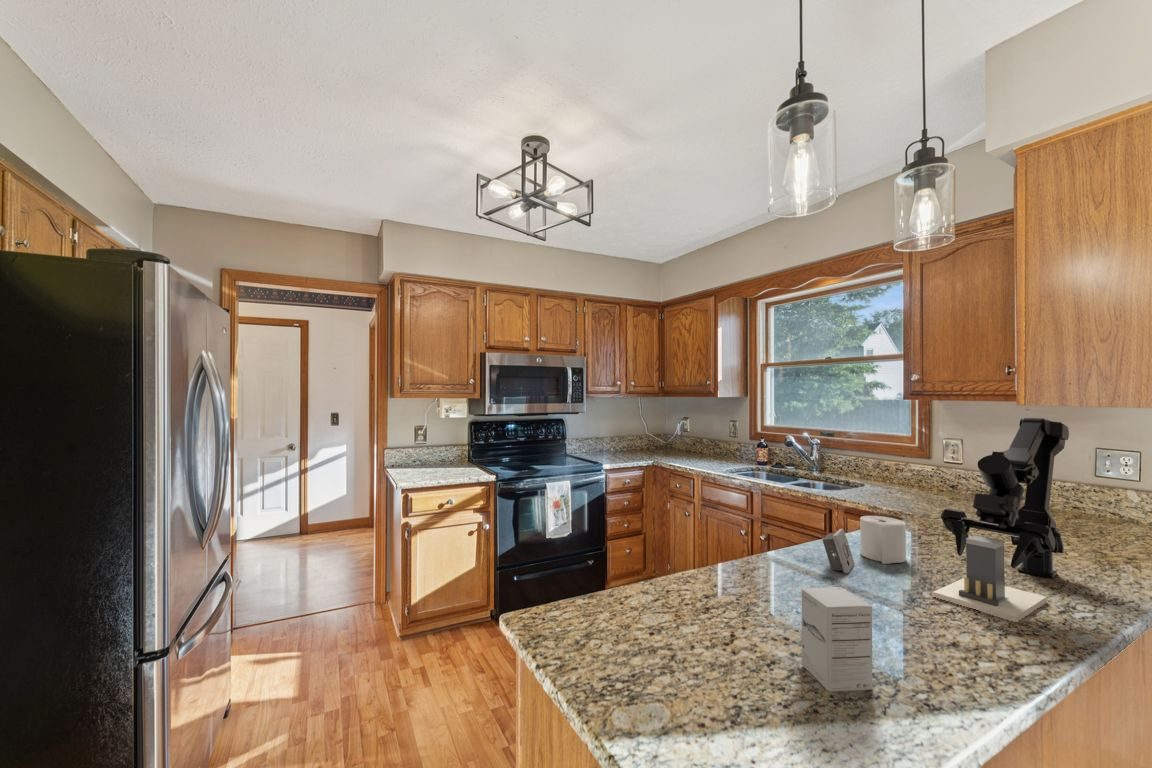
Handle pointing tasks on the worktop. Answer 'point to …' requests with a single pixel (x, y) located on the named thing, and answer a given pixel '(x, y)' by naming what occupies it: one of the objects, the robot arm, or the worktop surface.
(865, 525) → the toilet tissue
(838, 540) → the electrical switch
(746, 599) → the worktop surface
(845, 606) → the supplement box
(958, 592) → the board
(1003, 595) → the plug block
